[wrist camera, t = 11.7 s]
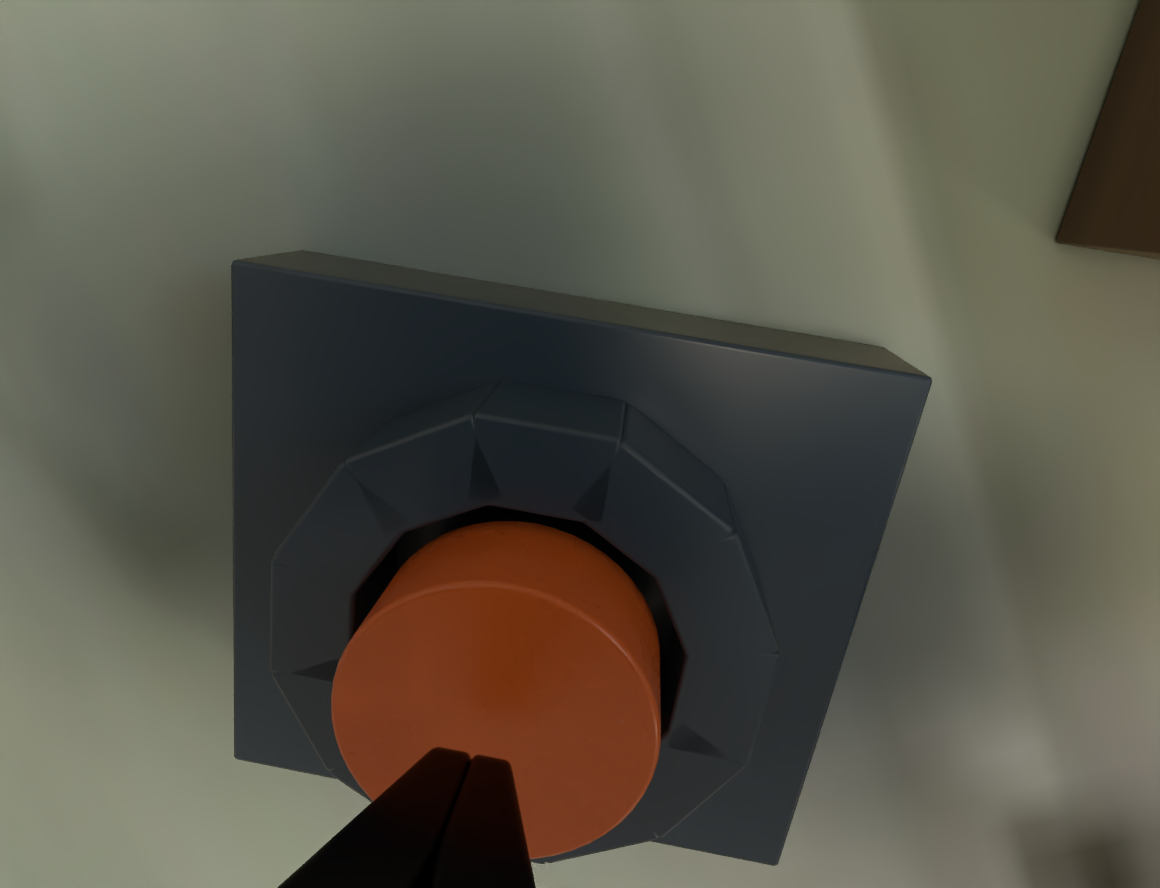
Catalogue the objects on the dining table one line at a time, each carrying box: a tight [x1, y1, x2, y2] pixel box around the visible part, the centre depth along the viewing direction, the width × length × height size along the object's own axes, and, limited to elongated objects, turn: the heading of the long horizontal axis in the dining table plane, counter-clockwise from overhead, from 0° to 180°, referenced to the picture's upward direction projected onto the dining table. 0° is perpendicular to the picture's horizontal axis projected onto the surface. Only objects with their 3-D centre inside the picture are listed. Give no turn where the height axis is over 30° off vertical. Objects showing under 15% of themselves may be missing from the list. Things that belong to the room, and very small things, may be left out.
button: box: [331, 521, 661, 859], centre depth 9 cm, size 4×4×2 cm
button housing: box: [231, 250, 932, 866], centre depth 12 cm, size 10×9×4 cm
